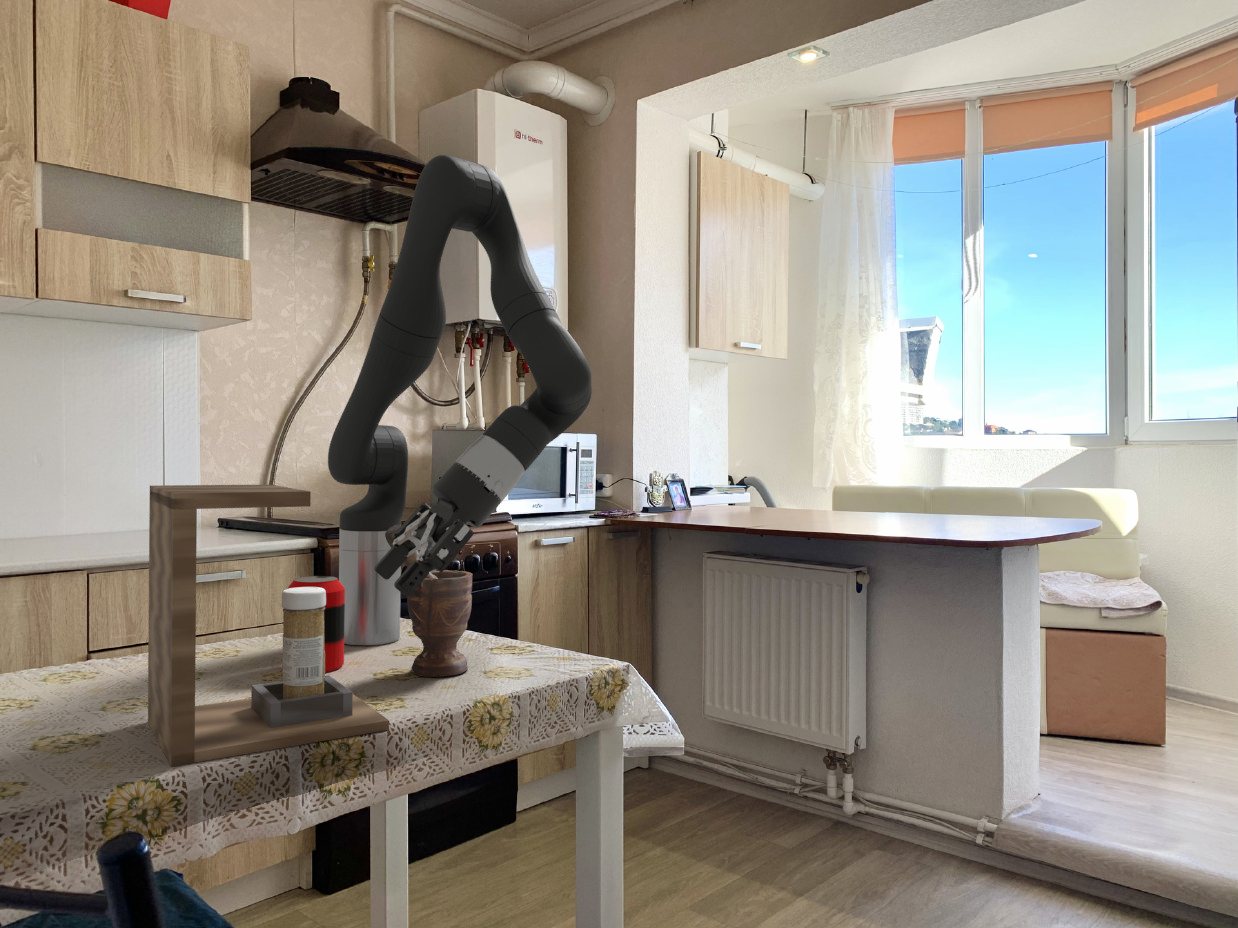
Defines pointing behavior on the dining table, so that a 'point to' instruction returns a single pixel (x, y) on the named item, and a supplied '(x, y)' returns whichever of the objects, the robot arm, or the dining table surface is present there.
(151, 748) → the dining table surface
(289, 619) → the sprinkles bottle
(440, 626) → the mortar and pestle
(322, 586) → the soda can
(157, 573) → the overhang stand
